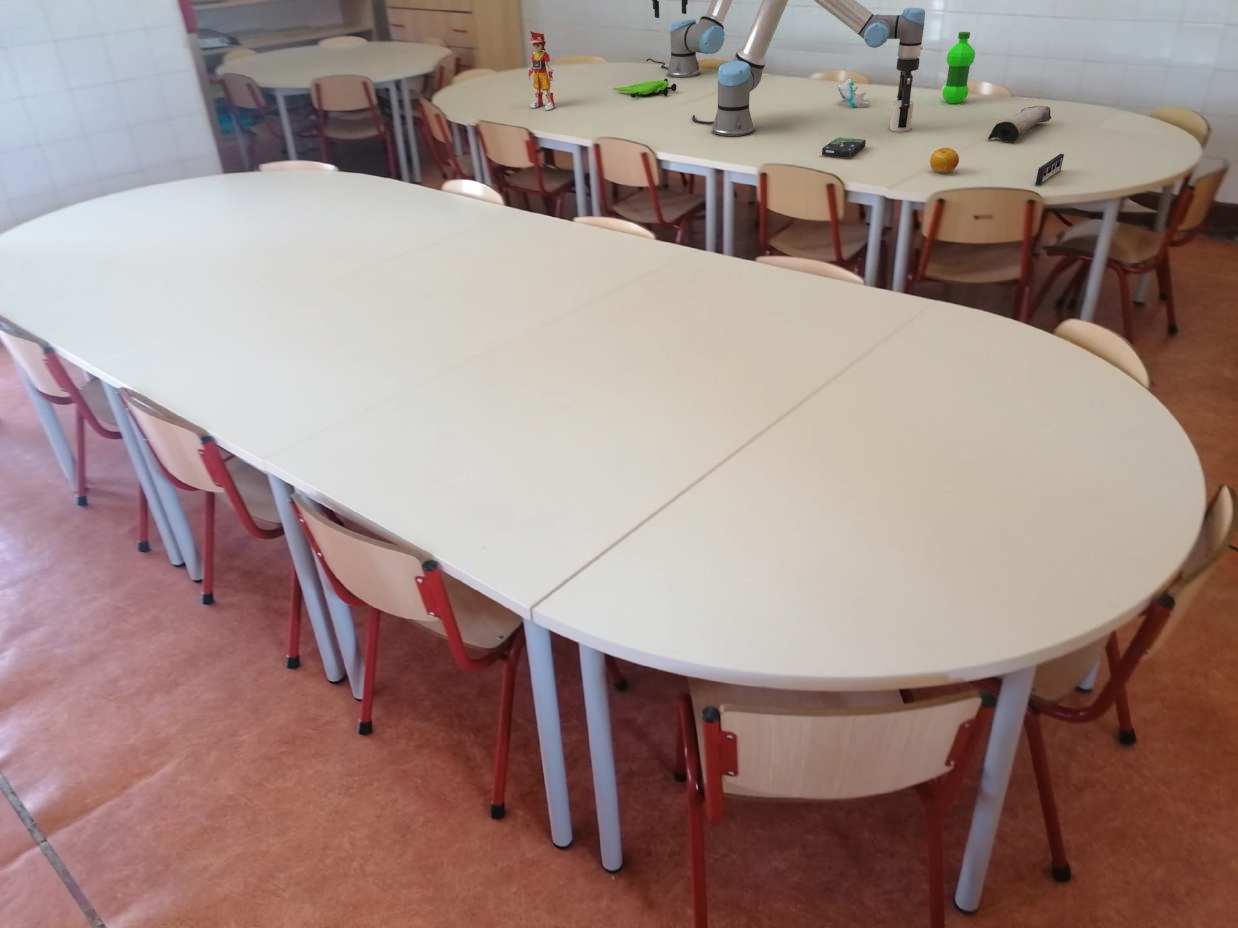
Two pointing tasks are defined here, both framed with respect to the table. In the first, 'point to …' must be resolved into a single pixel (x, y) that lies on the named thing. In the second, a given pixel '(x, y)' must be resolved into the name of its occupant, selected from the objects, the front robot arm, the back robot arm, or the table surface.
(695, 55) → the back robot arm
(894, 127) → the can
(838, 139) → the disk drive
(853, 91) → the anatomical model
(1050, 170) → the midi keyboard
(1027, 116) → the rolled mat
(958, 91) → the plastic bottle
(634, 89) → the toy
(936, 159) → the fruit
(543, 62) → the toy
